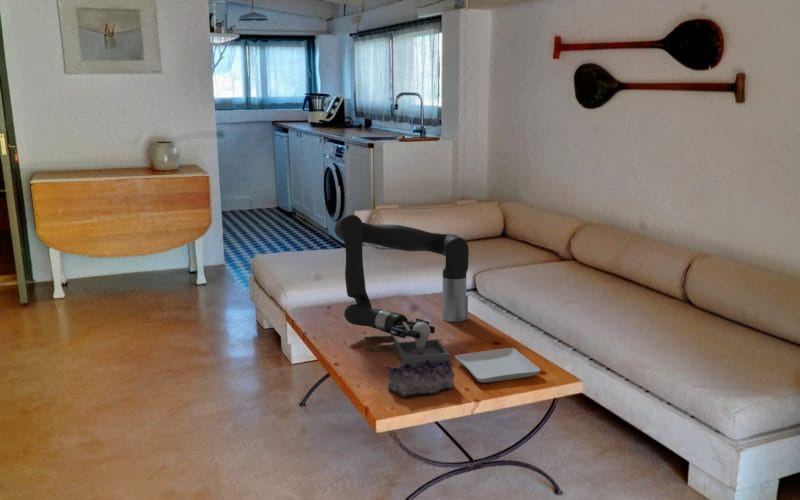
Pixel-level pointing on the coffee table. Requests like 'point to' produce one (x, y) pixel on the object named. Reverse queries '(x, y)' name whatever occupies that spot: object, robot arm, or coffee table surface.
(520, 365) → the salad plate
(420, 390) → the geode
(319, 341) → the coffee table surface
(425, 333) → the lightbulb
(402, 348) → the tray
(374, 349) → the square wooden frame
